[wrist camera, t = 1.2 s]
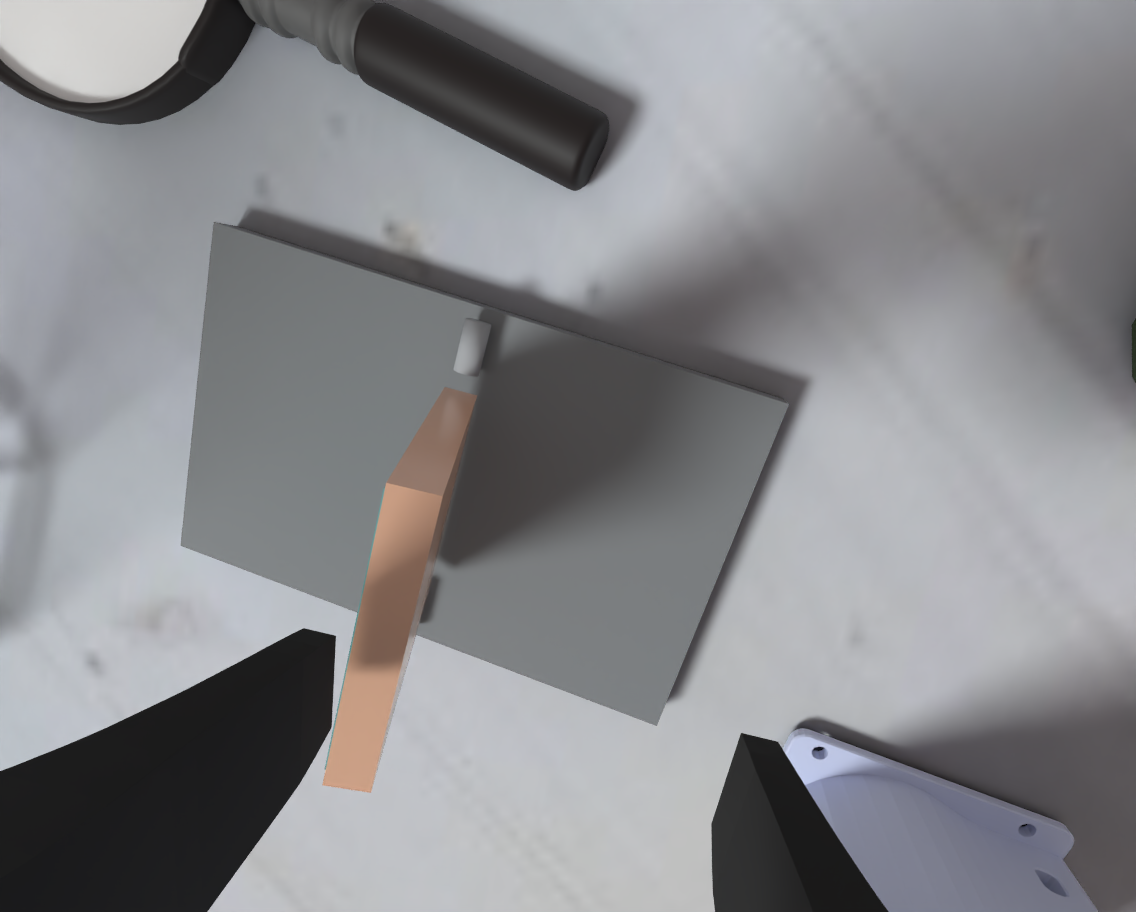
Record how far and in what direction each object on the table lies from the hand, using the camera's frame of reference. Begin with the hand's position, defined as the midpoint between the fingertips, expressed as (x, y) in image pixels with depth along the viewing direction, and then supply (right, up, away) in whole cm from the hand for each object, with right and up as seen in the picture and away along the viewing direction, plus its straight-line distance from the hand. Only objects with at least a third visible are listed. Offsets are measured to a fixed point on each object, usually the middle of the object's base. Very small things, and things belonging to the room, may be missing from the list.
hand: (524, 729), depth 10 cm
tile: (-3, +2, +5) cm, 6 cm away
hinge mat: (-3, +4, +11) cm, 12 cm away
